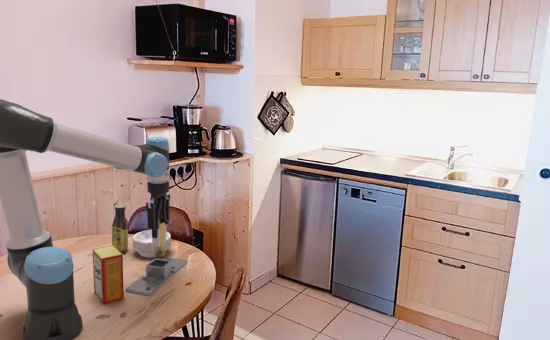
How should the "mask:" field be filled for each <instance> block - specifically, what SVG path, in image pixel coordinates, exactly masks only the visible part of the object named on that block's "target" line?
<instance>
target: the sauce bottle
mask: <svg viewBox="0 0 550 340" xmlns="http://www.w3.org/2000/svg"><path fill="white" fill-rule="evenodd" d="M114 214H115V216H114V218H113V221H112V225H111V246H112V245H113V246H114V247H115V248H116V249H117V250H118V251H119V252H120V253H121V254H122V255H123V254H125V253H127V251H128V248H129V228H128V227H129V225H128V224H129V223H128V219H127V217H126V205H125V204H117V205H115V206H114Z"/></svg>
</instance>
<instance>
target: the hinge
mask: <svg viewBox="0 0 550 340" xmlns="http://www.w3.org/2000/svg"><path fill="white" fill-rule="evenodd" d="M188 261H189V260H187V259H184V258H183V259H182V258H177V257H176V258H175V257H171V256H168V257H164V258H163V259H162V258H158V257H155V258H152V259H151V261H150V262H147V264H146V265H145V275H142V276H141V277H139V278H138V279H137V280H135V281H134V282H133V283H132V284H130V285H129V286H128V287H126V288H125V292H126V293H129V294H130V293H131V294H136V295H141V296H147V297H149V296H150V297H151V296H152V294H153V293H155V292H156V291H157V290H158V289H159V288H160V287H162V286H163V285H164V284H165V283H166V280H167V279H168V278H169V277H171V275H172V274H175V275H176V273H177V272H178V271H180V270H179V269H182V268H183V267H184V266H185V265H187V263H188Z"/></svg>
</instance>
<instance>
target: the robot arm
mask: <svg viewBox="0 0 550 340" xmlns="http://www.w3.org/2000/svg"><path fill="white" fill-rule="evenodd" d="M169 146H170V145H169V140H168V139H167V138H166V137H162V136H152V137H151V136H150V137H147V138H146V140H145V144H137V145H134V144H133V145H132V144H128V143H125V142H122V141H119V140H115V139H112V138H109V137H108V138H107V137H105V136H102V135H98V134H95V133H91V132H87V131H84V130H80V129H77V128H73V127H69V126H66V125H63V124H60V123H57V122H56V121H55V119H54V118H53V117H50V116H46V115H43V114H40V113H38V112H36V111H34V110H32V109H29V108H27V107H24V105H20V104H18V103H15V102H10V101H8V100H5V99H2V98H0V203H1V206H2V210H3V214H4V218H5V222H6V226H7V230H8V233H9V239H8V240H7V242H6V243H5V247H6V250H7V256H6V260H7V265H8V268H9V270H10V272H11V273H12V274H13V275H14V276H15V277H17V279H18V280H19V282H20V283H21V284H22V285H23V286H24V287H25V289H26V298H27V300H26V301H27V314H26V317H25V321H24V325H23V327H22V340H73V339H75V338H76V337H77V336H78V335H79V334H81V332H82V330H83V319H82V316H81V314H80V313H79V309H78V307H77V304H76V303H75V282H74V281H75V279H74V266H75V265H74V261H73V257H72V254H71V253H70V251H68V250H67V249H65V248H61V247H59V248H58V247H55V246H54V243H53V240H52V239H53V238H52V236H51V235H52V234H51V232H50V231H48V230H46V229H44V226H43V222H42V217H41V214H40V209H39V205H38V201H37V197H36V192H35V187H34V184H33V178H32V175H31V170H30V166H29V162H28V157H27V154H26V153H27V151H29V152H35V153H39V154H44V153H46V152H52V153H55V154H61V155H65V156H69V157H73V158H76V159H81V160H85V161H89V162H93V163H97V164H102V165H107V166H111V167H113V168H115V169H116V170H127V171H131V172H135V173H139V174H142V175H146V180H147V184H146V185H147V186H146V187H147V193H148V194H150V199H149V200H150V201H149V202H146V203H145V206H146V216H147V229H148V230H152V246H160V229H159V228H158V226H159V221H163V222H165V242H166V231H167V225H169V224H170V204H171V203H170V201H171V194H168V192H170V181H169V180H170V174H171V173H170V147H169Z"/></svg>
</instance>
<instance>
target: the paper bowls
mask: <svg viewBox="0 0 550 340" xmlns="http://www.w3.org/2000/svg"><path fill="white" fill-rule="evenodd" d="M171 237H172V236H171V233H170V232H169V231H167V230H166V242H165V252H166V251H168V250H169V249H170V248H172V238H171ZM132 250H133V251H135V252H137V253H138V254H139V255H140V256H141V257H144V258H147V259H148V258H152V259H154V258H158V257H159V256H155V255H154V246H152V229H148V230H142V231H140V232H136V233H135V234H134V235H133V236H132Z"/></svg>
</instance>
